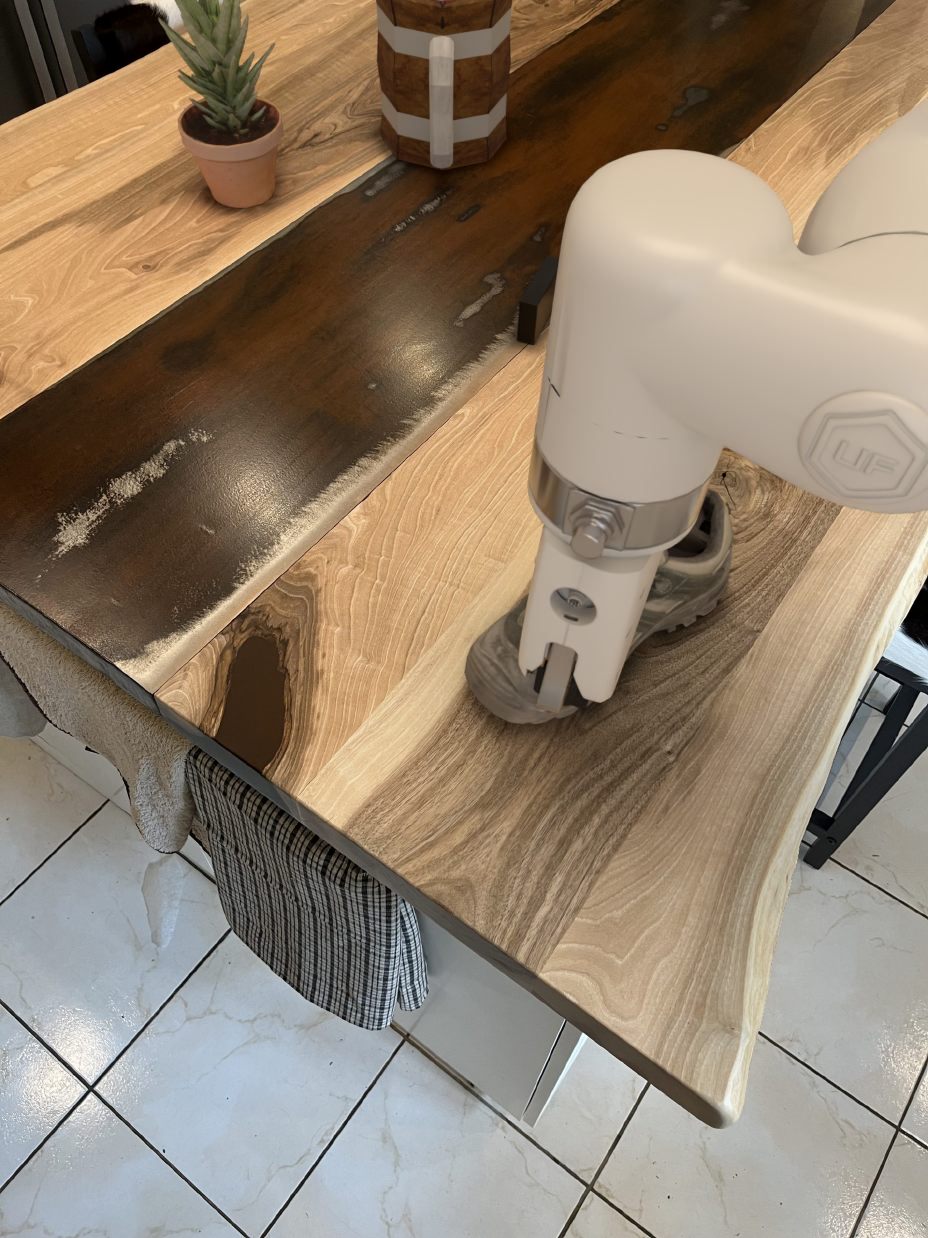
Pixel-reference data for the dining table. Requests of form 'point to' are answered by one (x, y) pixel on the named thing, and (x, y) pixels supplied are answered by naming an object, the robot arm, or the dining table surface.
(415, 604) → the dining table surface
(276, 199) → the dining table surface
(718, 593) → the hiking shoe
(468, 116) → the mug
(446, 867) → the dining table surface
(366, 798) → the dining table surface
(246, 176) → the potted plant
